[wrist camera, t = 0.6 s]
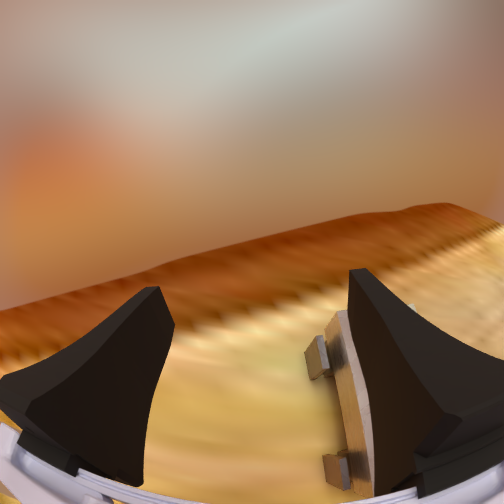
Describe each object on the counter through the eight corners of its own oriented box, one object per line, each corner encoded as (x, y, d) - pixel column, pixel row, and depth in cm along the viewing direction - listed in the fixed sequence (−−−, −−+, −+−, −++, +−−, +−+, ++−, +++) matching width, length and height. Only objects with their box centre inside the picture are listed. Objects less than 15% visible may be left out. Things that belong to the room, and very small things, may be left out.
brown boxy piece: (382, 464, 19) (408, 466, 15) (326, 481, 19) (343, 490, 15) (378, 439, 21) (403, 437, 17) (322, 455, 21) (339, 459, 17)
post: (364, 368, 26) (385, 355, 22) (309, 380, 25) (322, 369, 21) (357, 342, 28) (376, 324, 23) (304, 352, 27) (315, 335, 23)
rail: (387, 480, 16) (410, 484, 13) (354, 492, 16) (373, 500, 12) (355, 323, 25) (371, 305, 22) (324, 329, 25) (336, 311, 22)
